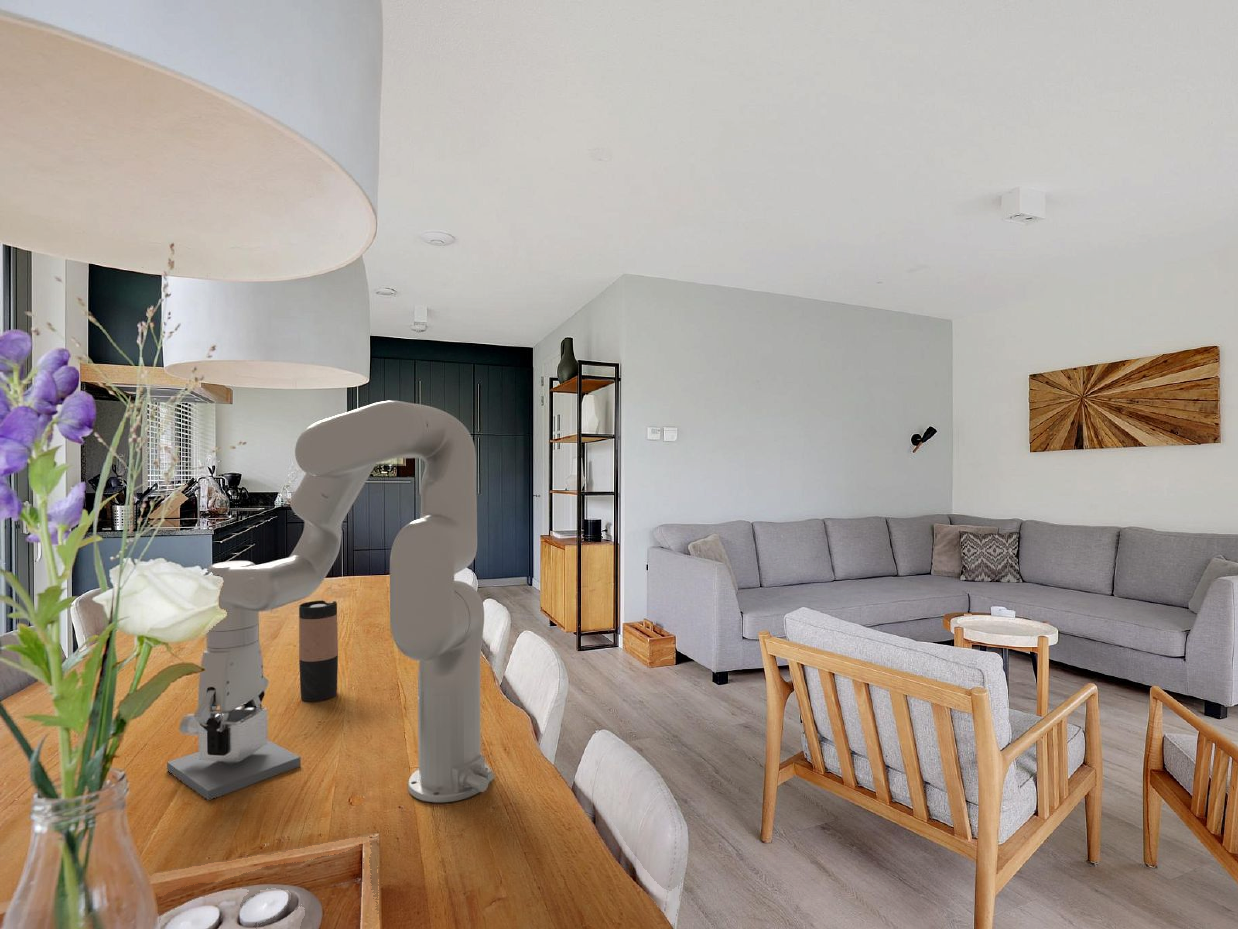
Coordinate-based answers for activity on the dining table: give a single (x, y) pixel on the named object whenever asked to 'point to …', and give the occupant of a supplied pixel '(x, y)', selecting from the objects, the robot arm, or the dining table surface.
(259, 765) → the plate
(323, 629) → the travel mug
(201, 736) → the grey hollow block
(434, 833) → the dining table surface
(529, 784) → the dining table surface
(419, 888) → the dining table surface
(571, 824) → the dining table surface
